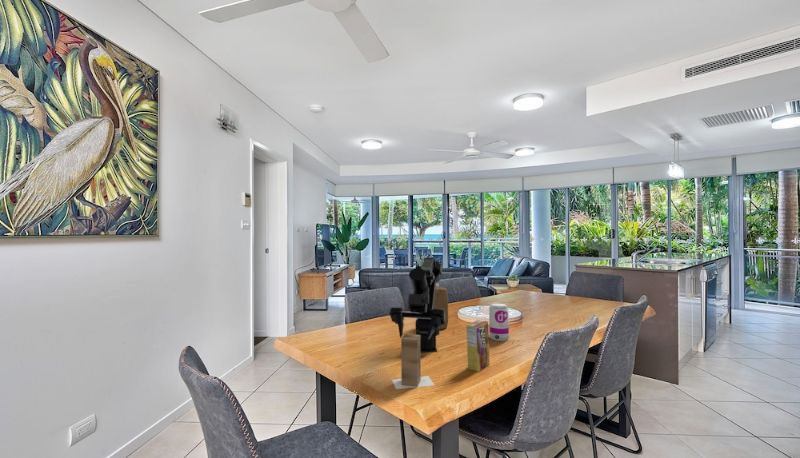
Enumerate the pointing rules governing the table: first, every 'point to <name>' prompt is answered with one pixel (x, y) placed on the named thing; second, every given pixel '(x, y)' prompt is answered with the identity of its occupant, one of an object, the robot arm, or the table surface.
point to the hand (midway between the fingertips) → (414, 337)
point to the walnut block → (410, 360)
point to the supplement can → (498, 322)
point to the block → (441, 303)
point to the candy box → (478, 345)
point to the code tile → (423, 382)
